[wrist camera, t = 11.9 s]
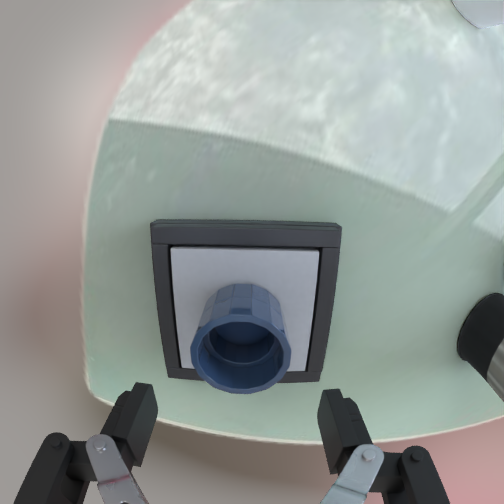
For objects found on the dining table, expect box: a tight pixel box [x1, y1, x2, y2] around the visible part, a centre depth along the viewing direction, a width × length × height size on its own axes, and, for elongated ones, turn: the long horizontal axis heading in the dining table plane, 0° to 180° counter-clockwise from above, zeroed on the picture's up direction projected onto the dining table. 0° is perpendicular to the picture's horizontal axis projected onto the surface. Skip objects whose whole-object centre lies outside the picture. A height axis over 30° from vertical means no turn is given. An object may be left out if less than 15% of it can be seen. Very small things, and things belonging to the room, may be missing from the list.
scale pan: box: [171, 244, 319, 371], centre depth 21 cm, size 10×10×1 cm
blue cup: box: [190, 284, 292, 394], centre depth 18 cm, size 6×6×5 cm
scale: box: [150, 220, 342, 383], centre depth 22 cm, size 14×13×3 cm
